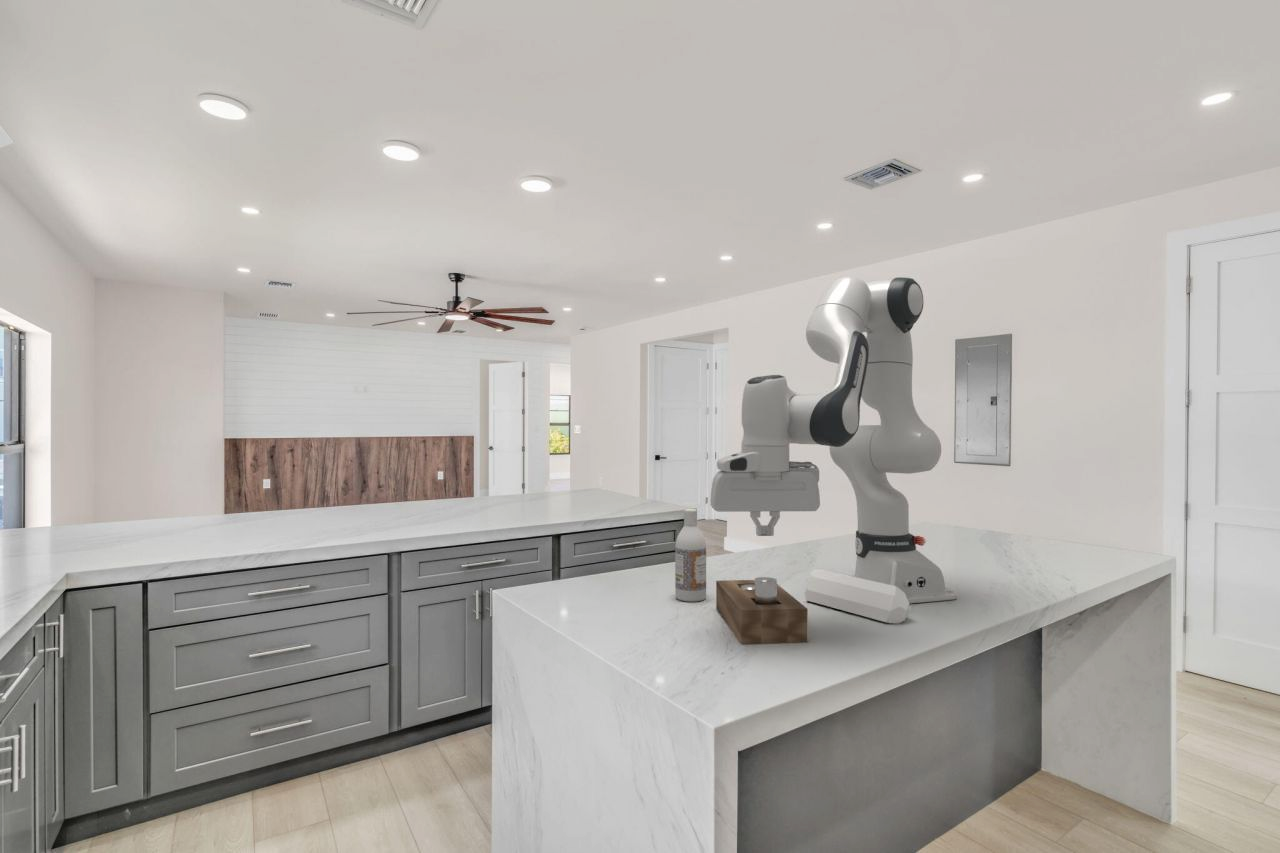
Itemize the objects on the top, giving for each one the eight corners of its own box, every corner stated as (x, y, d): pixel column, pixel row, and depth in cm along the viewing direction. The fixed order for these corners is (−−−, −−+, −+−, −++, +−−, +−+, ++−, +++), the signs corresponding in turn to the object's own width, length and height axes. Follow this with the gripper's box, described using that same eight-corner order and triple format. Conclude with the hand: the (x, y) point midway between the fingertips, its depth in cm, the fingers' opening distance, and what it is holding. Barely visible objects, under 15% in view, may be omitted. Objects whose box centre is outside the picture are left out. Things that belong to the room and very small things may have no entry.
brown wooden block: (771, 607, 135) (771, 579, 135) (807, 642, 113) (807, 608, 113) (716, 609, 134) (716, 580, 134) (741, 644, 112) (741, 610, 112)
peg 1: (757, 611, 131) (757, 584, 131) (763, 617, 127) (763, 589, 127) (738, 612, 131) (738, 584, 131) (743, 617, 127) (743, 589, 127)
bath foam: (692, 604, 137) (691, 512, 138) (669, 598, 142) (668, 509, 143) (712, 598, 142) (712, 509, 142) (689, 592, 147) (689, 507, 147)
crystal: (792, 584, 140) (890, 609, 120) (810, 564, 143) (908, 586, 124) (803, 610, 142) (901, 639, 122) (821, 590, 145) (919, 615, 126)
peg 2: (773, 606, 120) (773, 576, 120) (779, 613, 116) (779, 582, 116) (752, 607, 120) (752, 577, 120) (758, 613, 116) (758, 582, 116)
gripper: (813, 460, 122) (813, 532, 122) (708, 460, 120) (708, 533, 120) (825, 462, 116) (825, 537, 115) (715, 462, 114) (715, 538, 114)
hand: (764, 535), depth 118 cm, fingers closed
